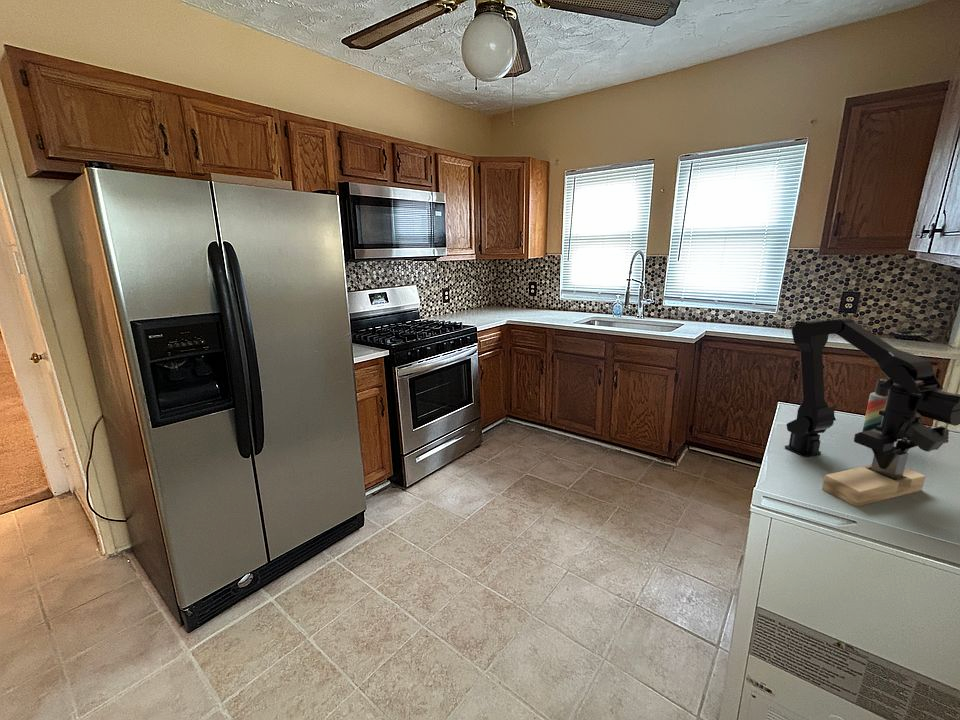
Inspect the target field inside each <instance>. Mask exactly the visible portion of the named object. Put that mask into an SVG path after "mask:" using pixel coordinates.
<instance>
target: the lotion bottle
mask: <svg viewBox="0 0 960 720" xmlns="http://www.w3.org/2000/svg"><path fill="white" fill-rule="evenodd" d="M887 380H888V378H887V379H886V378H879V379H877V381H876V385H875V390H874V392H870V394H869V398H868V402H867V406H866V407H867V408H866V413H865V415H864V421H863V426H862V429H861V430H862V431H861V432H864V431H869V430H871V431H873V432H876V433H879V434H882V433H881V431H878V430H875V428H876V426H878V425H881V422H882V418H883V416H882V415H879V411H880V410H884V409H885V405H886V400H887V396H888V391H889V389H885V388H882V387H879V386H878V385H879V384H881V383H884V382H886V381H887Z"/></svg>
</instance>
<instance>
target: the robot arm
mask: <svg viewBox="0 0 960 720" xmlns="http://www.w3.org/2000/svg"><path fill="white" fill-rule="evenodd" d="M834 334H836V335H837V336H839V337H840V338H842V340H845V341H846V342H847V343H849V345H852V346H853V347H854V348H856V349H857V350H859V351H861V352H862V353H864V354H865V355H866V356H868V357H869V358H870V359H872V360H874V361H875V362H876V364H877V365H878V367H879V369H880V371H881V372H882V373H883V374H884V375H885V376H886V377H887V381H886V382H884V383H881V384H879V385H878V386H879V387H882V388H885V389H889V391H888V396H887V400H886V405H885V409H884V410H880V411H879V415H882V416H883V418H882V422H881V425H878V426H876V428H875V430H878V431H881V433H882V434H879V433H876V432H873V431H871V430H869V431H864V432H862V431H859V432H857V433H855V434H854V438H853V442H854V443H856V444H859V445H861V446H862V447H863V446H864V447H867V448H868V449H871V450H872V452H873V456H874V455H875V457H876V460H877V462H878V465H879V467H880V468H882V469H886V467H887V466H888V463H889V461H890V459H891V456H892V454H893V452H895V451H898V450H901V451H904V452H907V453H908V451H909V450H910V449H914V448H916V447H918V448H919V449H920V450H922V451H924V452H931V451H937V450H939V449H940V448H941V447H942V446H943V445H944V444H947V443H949V439H950V438H949V434H950V433H949V432H950V430H949V429H948V428H946V427H945V426H943V425H942V426H941V425H940V426H937V427H933V428H932V426H931V425H929V426H928V425H925V424H923V417H924V418H927V419H930V420H934V421H937V422H941V423H945V424H947V425H951V426H955V427H956V426H959V425H960V394H959V393H954V392H953V393H952V392H947V391H944V387H943V386H942V384H941V382H940V381H939V380H938V378H937V376H936V375H935V373H934V369H933V368H934V365H933V364H932V363H931V362H930V361H929V360H927V359H925V358H922V357H921V356H918V355H915V354H913V353H910V352H907V351H903V350H900V349H898V348H896V347H893V345H891V344H889V343H888V342H886V341H884V340H882V339H881V338H880V337H879V336H876V335H875V334H873V333H872V332H870V331H869V330H868V329H866V328H864V327H863V326H861V325H859V324H858V323H856V322H855V320H854V319H852V318H850V317H841V318H839V317H838V318H835V319H834V318H833V319H831V320H822V319H812V320H802V321H798V322H796V323H794V325H793V326H792V328H791V335H792V339H793V343H794V345H795V346H796V347H797V349H798V350H799V352H800V365H801V366H800V367H801V383H802V384H801V387H802V402H801V404H800V405H799V407H798V409H797V414H796V418H795V419H794V420H791V421H790V422H788V423H786V429H787V431H788V432H790V438H789V442H788V445H784V448H785V449H787V450H789V451H791V452H794V453H795V454H798V455H801V456H802V457H805V458H806V457H809V456H815V455H820V454H821V453H822V452H821V451H820V446H821V440H820V437H821V434H823V433H824V434H825V432H826V430H828V429H830V428H831V427H832V426H834V421H835V422H836V421H837V419H836V417H835V409H836V408H835V406H833V405H832V406H829V405H828V403H827V402H826V398H825V383H824V382H825V381H824V379H825V378H824V364H823V350H824V349H825V347H826V345H827V343H828V340H829V335H834ZM917 383H922V384H917Z"/></svg>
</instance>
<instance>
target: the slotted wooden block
mask: <svg viewBox="0 0 960 720" xmlns="http://www.w3.org/2000/svg"><path fill="white" fill-rule="evenodd" d="M871 466H872V464H869V465H863V466H859V467H855V468H851V469H845V470H842V471H838V472H832V473H828V474H825V475H824V478H823V483H822V486H821V487H822V488H821V489H822V490H823V491H825V492H826V493H829V494H831V495H833V496H835V497H837V498H839V499H841V500H843V501H845V502H847V503H849V504H850V505H852V506H854V507H856V508H857V507H861V506H865V505H869V504H874V503H877V502H882V501H884V500H889V499H893V498H896V497H900V496H906V495H907V494H912V493H913V494H914V493H918V492H920V491H922V490H923V487H924V484H925V480H926V478H927V477H926V475H925V474H921V473H920V472H917V471H914V470H912V469H909V468H906V467H905V469H904V473H903V477H902V479H900V480H896V481H895V480H892V479H890V478H888V477H885V476H883V475H881V474H878V473H876V472H873V471H871Z"/></svg>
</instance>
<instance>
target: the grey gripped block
mask: <svg viewBox="0 0 960 720" xmlns="http://www.w3.org/2000/svg"><path fill="white" fill-rule="evenodd" d="M908 456H909V452H908V451H907V452H904V451H901V450H898V451H895V452H893V454H892V456H891V459H890V461H889V463H888V466H887V467H886V469H882V468H880V467H879V465H878V462H877V460H876V457H875V455H874V454H873V458H872V463H871V465H872V466H871V471H873V472H876V473H878V474H881V475H883V476H885V477H888V478H890V479H892V480H895V481H896V480H900V479H902V477H903V473H904V469H905V468H906V465H907V461H908Z"/></svg>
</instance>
